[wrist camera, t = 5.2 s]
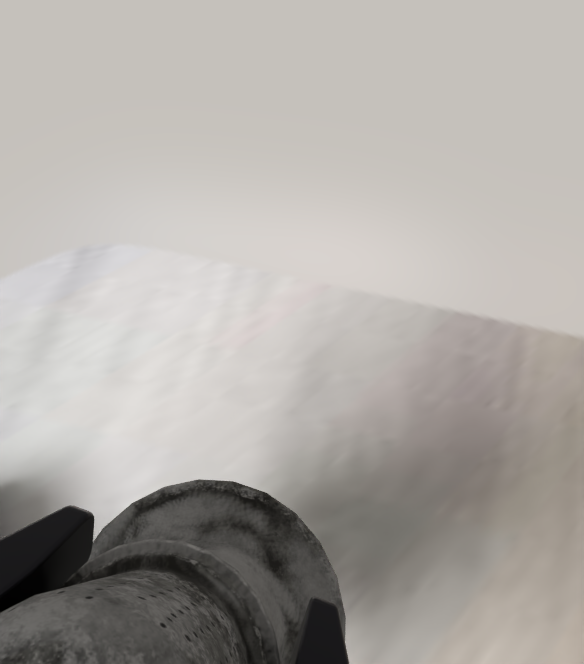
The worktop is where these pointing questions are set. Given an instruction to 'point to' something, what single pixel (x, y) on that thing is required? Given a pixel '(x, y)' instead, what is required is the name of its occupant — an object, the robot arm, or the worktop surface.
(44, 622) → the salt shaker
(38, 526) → the robot arm
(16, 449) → the worktop surface
